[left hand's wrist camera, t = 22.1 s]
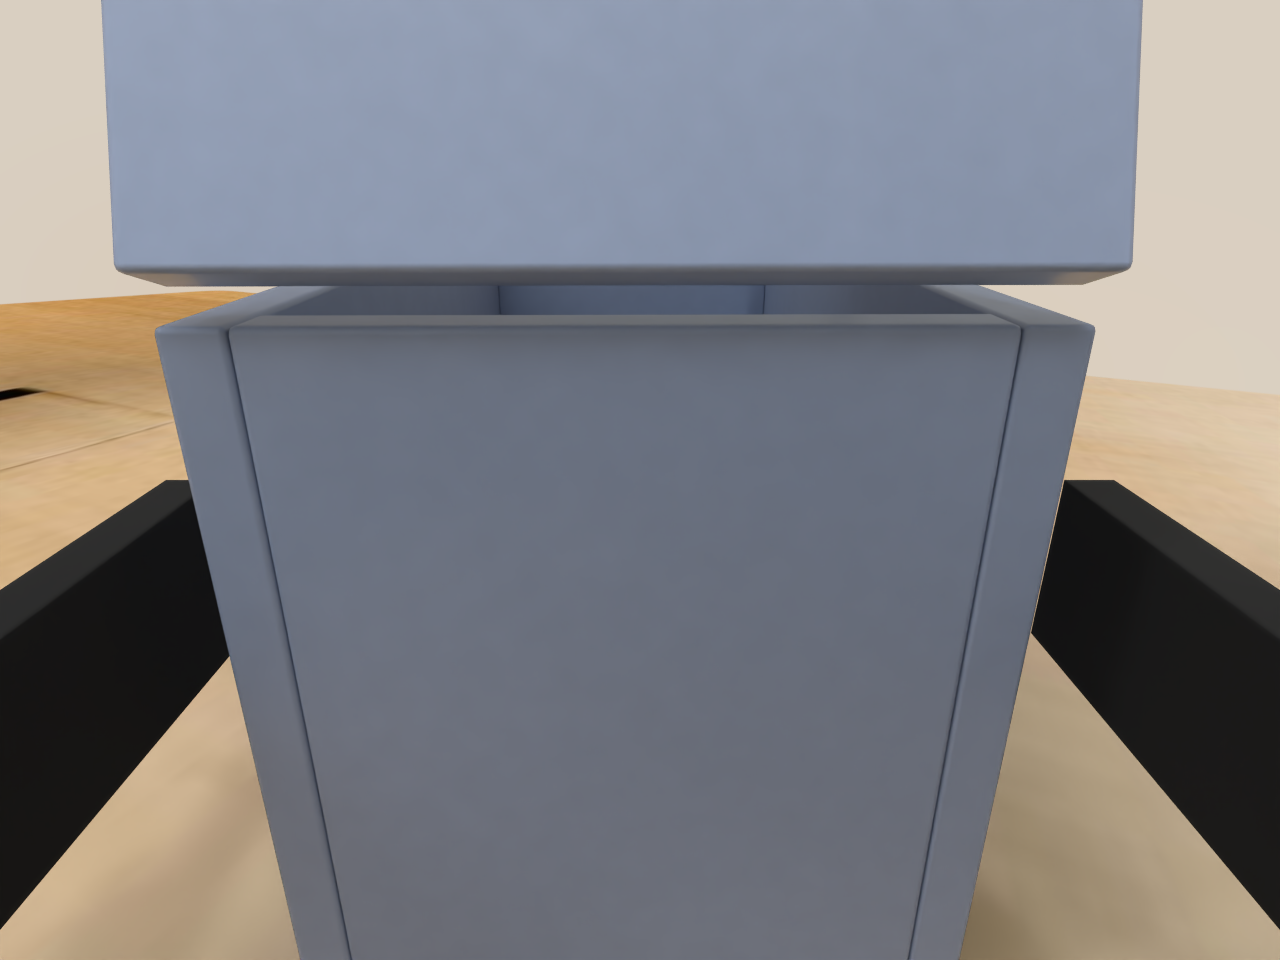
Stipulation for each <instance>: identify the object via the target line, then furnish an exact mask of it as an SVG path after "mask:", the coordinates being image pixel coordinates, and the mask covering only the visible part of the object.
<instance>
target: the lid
mask: <svg viewBox="0 0 1280 960" xmlns="http://www.w3.org/2000/svg"><path fill="white" fill-rule="evenodd" d="M101 4H102V24H103V45H104V66H105V87H106V108H107V128H108V149H109V170H110V191H111V211H112V232H113V253H114V265H115V267H116V270H118V271H119V272H121V273H124V274H126V275H130V276H133V277H136V278H140V279H143V280H146V281H150V282H153V283H157V284H160V285H163V286H663V285H1083V284H1086V283H1089V282H1093V281H1096V280H1099V279H1102V278H1105V277H1108V276H1112V275H1115V274H1118V273H1121V272H1124V271H1126V270H1128V269H1129V268H1130V267H1131V264H1132V259H1133V234H1134V209H1135V183H1136V158H1137V132H1138V107H1139V82H1140V57H1141V32H1142V7H1143V0H101Z"/></svg>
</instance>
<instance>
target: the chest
mask: <svg viewBox="0 0 1280 960" xmlns="http://www.w3.org/2000/svg"><path fill="white" fill-rule="evenodd" d="M1094 335H1095V327H1094V326H1093V325H1091V324H1088V323H1085V322H1082V321H1079V320H1077V319H1074V318H1071V317H1068V316H1065V315H1062V314H1059V313H1057V312H1054V311H1051V310H1048V309H1045V308H1042V307H1039V306H1036V305H1033V304H1031V303H1028V302H1025V301H1022V300H1019V299H1016V298H1013V297H1011V296H1008V295H1005V294H1002V293H999V292H996V291H993V290H990V289H988V288H985V287H982V286H979V285H663V286H278V287H275V288H272V289H269V290H266V291H263V292H260V293H257V294H254V295H251V296H248V297H245V298H242V299H239V300H236V301H233V302H231V303H228V304H225V305H222V306H219V307H216V308H213V309H210V310H207V311H204V312H201V313H198V314H195V315H192V316H189V317H186V318H183V319H180V320H177V321H174V322H172V323H169V324H166V325H163V326H160V327H158V328H156V330H155V338H156V342H157V347H158V351H159V355H160V360H161V364H162V368H163V372H164V377H165V381H166V385H167V390H168V394H169V398H170V402H171V407H172V411H173V415H174V420H175V424H176V428H177V432H178V437H179V441H180V445H181V450H182V454H183V458H184V462H185V467H186V471H187V475H188V480H189V484H190V488H191V492H192V497H193V501H194V505H195V510H196V514H197V518H198V522H199V527H200V531H201V535H202V540H203V544H204V548H205V552H206V557H207V561H208V565H209V570H210V574H211V578H212V582H213V587H214V591H215V595H216V600H217V604H218V608H219V613H220V617H221V621H222V625H223V630H224V634H225V638H226V643H227V647H228V651H229V655H230V660H231V664H232V668H233V673H234V677H235V681H236V685H237V690H238V694H239V698H240V703H241V707H242V711H243V715H244V720H245V724H246V728H247V733H248V737H249V741H250V745H251V750H252V754H253V758H254V763H255V767H256V771H257V775H258V780H259V784H260V788H261V793H262V797H263V801H264V805H265V810H266V814H267V818H268V823H269V827H270V831H271V835H272V840H273V844H274V848H275V853H276V857H277V861H278V865H279V870H280V874H281V878H282V883H283V887H284V891H285V896H286V900H287V904H288V908H289V913H290V917H291V921H292V926H293V930H294V934H295V938H296V943H297V947H298V951H299V956H300V960H959V958H960V954H961V949H962V944H963V940H964V935H965V930H966V926H967V921H968V917H969V912H970V907H971V903H972V898H973V894H974V889H975V884H976V880H977V875H978V870H979V866H980V861H981V857H982V852H983V847H984V843H985V838H986V833H987V829H988V824H989V820H990V815H991V810H992V806H993V801H994V797H995V792H996V787H997V783H998V778H999V773H1000V769H1001V764H1002V760H1003V755H1004V750H1005V746H1006V741H1007V737H1008V732H1009V727H1010V723H1011V718H1012V713H1013V709H1014V704H1015V700H1016V695H1017V690H1018V686H1019V681H1020V677H1021V672H1022V667H1023V663H1024V658H1025V653H1026V649H1027V644H1028V640H1029V635H1030V630H1031V626H1032V621H1033V616H1034V612H1035V607H1036V603H1037V598H1038V593H1039V589H1040V584H1041V580H1042V575H1043V570H1044V566H1045V561H1046V556H1047V552H1048V547H1049V543H1050V538H1051V533H1052V529H1053V524H1054V520H1055V515H1056V510H1057V506H1058V501H1059V496H1060V492H1061V487H1062V483H1063V478H1064V473H1065V469H1066V464H1067V460H1068V455H1069V450H1070V446H1071V441H1072V436H1073V432H1074V427H1075V423H1076V418H1077V413H1078V409H1079V404H1080V399H1081V395H1082V390H1083V386H1084V381H1085V376H1086V372H1087V367H1088V363H1089V358H1090V353H1091V349H1092V344H1093V339H1094Z"/></svg>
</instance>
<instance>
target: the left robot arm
mask: <svg viewBox="0 0 1280 960" xmlns="http://www.w3.org/2000/svg"><path fill="white" fill-rule="evenodd" d="M1031 633H1032V634H1033V636H1034V637H1035V638H1036V639H1037V640H1038V642H1039V643H1040V644H1041V645H1042V646H1043V648H1044V649H1045V650H1046V651H1047V652H1048V654H1049V655H1050V656H1051V657H1052V658H1053V660H1054V661H1055V662H1056V663H1057V664H1058V665H1059V667H1060V668H1061V669H1062V670H1063V671H1064V673H1065V674H1066V675H1067V676H1068V677H1069V679H1070V680H1071V681H1072V682H1073V683H1074V685H1075V686H1076V687H1077V688H1078V689H1079V691H1080V692H1081V693H1082V694H1083V695H1084V697H1085V698H1086V699H1087V700H1088V701H1089V702H1090V704H1091V705H1092V706H1093V707H1094V708H1095V710H1096V711H1097V712H1098V713H1099V714H1100V716H1101V717H1102V718H1103V719H1104V720H1105V722H1106V723H1107V724H1108V725H1109V726H1110V728H1111V729H1112V730H1113V731H1114V732H1115V734H1116V735H1117V736H1118V737H1119V738H1120V739H1121V741H1122V742H1123V743H1124V744H1125V745H1126V747H1127V748H1128V749H1129V750H1130V751H1131V753H1132V754H1133V755H1134V756H1135V757H1136V759H1137V760H1138V761H1139V762H1140V763H1141V765H1142V766H1143V767H1144V768H1145V769H1146V771H1147V772H1148V773H1149V774H1150V775H1151V776H1152V778H1153V779H1154V780H1155V781H1156V782H1157V784H1158V785H1159V786H1160V787H1161V788H1162V790H1163V791H1164V792H1165V793H1166V794H1167V796H1168V797H1169V798H1170V799H1171V800H1172V802H1173V803H1174V804H1175V805H1176V806H1177V808H1178V809H1179V810H1180V811H1181V812H1182V813H1183V815H1184V816H1185V817H1186V818H1187V819H1188V821H1189V822H1190V823H1191V824H1192V825H1193V827H1194V828H1195V829H1196V830H1197V831H1198V833H1199V834H1200V835H1201V836H1202V837H1203V839H1204V840H1205V841H1206V842H1207V843H1208V845H1209V846H1210V847H1211V848H1212V849H1213V850H1214V852H1215V853H1216V854H1217V855H1218V856H1219V858H1220V859H1221V860H1222V861H1223V862H1224V864H1225V865H1226V866H1227V867H1228V868H1229V870H1230V871H1231V872H1232V873H1233V874H1234V876H1235V877H1236V878H1237V879H1238V880H1239V882H1240V883H1241V884H1242V885H1243V886H1244V887H1245V889H1246V890H1247V891H1248V892H1249V893H1250V895H1251V896H1252V897H1253V898H1254V899H1255V901H1256V902H1257V903H1258V904H1259V905H1260V907H1261V908H1262V909H1263V910H1264V911H1265V913H1266V914H1267V915H1268V916H1269V917H1270V919H1271V920H1272V921H1273V922H1274V923H1275V924H1276V926H1277V927H1278V928H1279V929H1280V590H1279V589H1277V588H1276V587H1274V586H1273V585H1271V584H1270V583H1268V582H1267V581H1265V580H1264V579H1262V578H1261V577H1259V576H1258V575H1256V574H1255V573H1253V572H1252V571H1250V570H1249V569H1247V568H1246V567H1244V566H1243V565H1241V564H1240V563H1238V562H1237V561H1235V560H1234V559H1232V558H1231V557H1229V556H1228V555H1226V554H1225V553H1223V552H1222V551H1220V550H1219V549H1217V548H1216V547H1214V546H1213V545H1211V544H1210V543H1208V542H1207V541H1205V540H1204V539H1202V538H1200V537H1199V536H1197V535H1196V534H1194V533H1193V532H1191V531H1190V530H1188V529H1187V528H1185V527H1184V526H1182V525H1181V524H1179V523H1178V522H1176V521H1175V520H1173V519H1172V518H1170V517H1169V516H1167V515H1166V514H1164V513H1163V512H1161V511H1160V510H1158V509H1157V508H1155V507H1154V506H1152V505H1151V504H1149V503H1148V502H1146V501H1145V500H1143V499H1142V498H1140V497H1139V496H1137V495H1136V494H1134V493H1133V492H1131V491H1130V490H1128V489H1127V488H1125V487H1124V486H1122V485H1121V484H1119V483H1118V482H1116V481H1114V480H1064V484H1063V489H1062V493H1061V498H1060V503H1059V507H1058V512H1057V516H1056V521H1055V526H1054V530H1053V535H1052V539H1051V544H1050V549H1049V553H1048V558H1047V562H1046V567H1045V571H1044V576H1043V581H1042V585H1041V590H1040V594H1039V599H1038V604H1037V608H1036V613H1035V617H1034V622H1033V626H1032V631H1031ZM229 656H230V655H229V651H228V647H227V643H226V638H225V634H224V630H223V625H222V621H221V617H220V613H219V608H218V604H217V600H216V595H215V591H214V587H213V582H212V578H211V574H210V570H209V565H208V561H207V557H206V552H205V548H204V544H203V540H202V535H201V531H200V527H199V522H198V518H197V514H196V510H195V505H194V501H193V497H192V492H191V488H190V484H189V480H166V481H164V482H162V483H161V484H159V485H158V486H156V487H155V488H153V489H152V490H150V491H149V492H147V493H146V494H144V495H143V496H141V497H140V498H138V499H137V500H135V501H134V502H132V503H131V504H129V505H128V506H126V507H125V508H123V509H122V510H120V511H119V512H117V513H116V514H114V515H113V516H111V517H110V518H108V519H107V520H105V521H104V522H102V523H101V524H99V525H98V526H96V527H95V528H93V529H92V530H90V531H89V532H87V533H86V534H84V535H83V536H81V537H80V538H78V539H76V540H75V541H73V542H72V543H70V544H69V545H67V546H66V547H64V548H63V549H61V550H60V551H58V552H57V553H55V554H54V555H52V556H51V557H49V558H48V559H46V560H45V561H43V562H42V563H40V564H39V565H37V566H36V567H34V568H33V569H31V570H30V571H28V572H27V573H25V574H24V575H22V576H21V577H19V578H18V579H16V580H15V581H13V582H12V583H10V584H9V585H7V586H6V587H4V588H3V589H1V590H0V929H1V928H2V927H3V926H4V924H5V923H6V922H7V921H8V920H9V919H10V917H11V916H12V915H13V914H14V913H15V911H16V910H17V909H18V908H19V907H20V905H21V904H22V903H23V902H24V901H25V899H26V898H27V897H28V896H29V895H30V893H31V892H32V891H33V890H34V889H35V887H36V886H37V885H38V884H39V883H40V882H41V880H42V879H43V878H44V877H45V876H46V874H47V873H48V872H49V871H50V870H51V868H52V867H53V866H54V865H55V864H56V862H57V861H58V860H59V859H60V858H61V856H62V855H63V854H64V853H65V852H66V850H67V849H68V848H69V847H70V846H71V845H72V843H73V842H74V841H75V840H76V839H77V837H78V836H79V835H80V834H81V833H82V831H83V830H84V829H85V828H86V827H87V825H88V824H89V823H90V822H91V821H92V819H93V818H94V817H95V816H96V815H97V813H98V812H99V811H100V810H101V809H102V808H103V806H104V805H105V804H106V803H107V802H108V800H109V799H110V798H111V797H112V796H113V794H114V793H115V792H116V791H117V790H118V788H119V787H120V786H121V785H122V784H123V782H124V781H125V780H126V779H127V778H128V776H129V775H130V774H131V773H132V772H133V771H134V769H135V768H136V767H137V766H138V765H139V763H140V762H141V761H142V760H143V759H144V757H145V756H146V755H147V754H148V753H149V751H150V750H151V749H152V748H153V747H154V745H155V744H156V743H157V742H158V741H159V739H160V738H161V737H162V736H163V735H164V734H165V732H166V731H167V730H168V729H169V728H170V726H171V725H172V724H173V723H174V722H175V720H176V719H177V718H178V717H179V716H180V714H181V713H182V712H183V711H184V710H185V708H186V707H187V706H188V705H189V704H190V702H191V701H192V700H193V699H194V698H195V697H196V695H197V694H198V693H199V692H200V691H201V689H202V688H203V687H204V686H205V685H206V683H207V682H208V681H209V680H210V679H211V677H212V676H213V675H214V674H215V673H216V671H217V670H218V669H219V668H220V667H221V665H222V664H223V663H224V662H225V661H226V660H227V658H228V657H229Z"/></svg>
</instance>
